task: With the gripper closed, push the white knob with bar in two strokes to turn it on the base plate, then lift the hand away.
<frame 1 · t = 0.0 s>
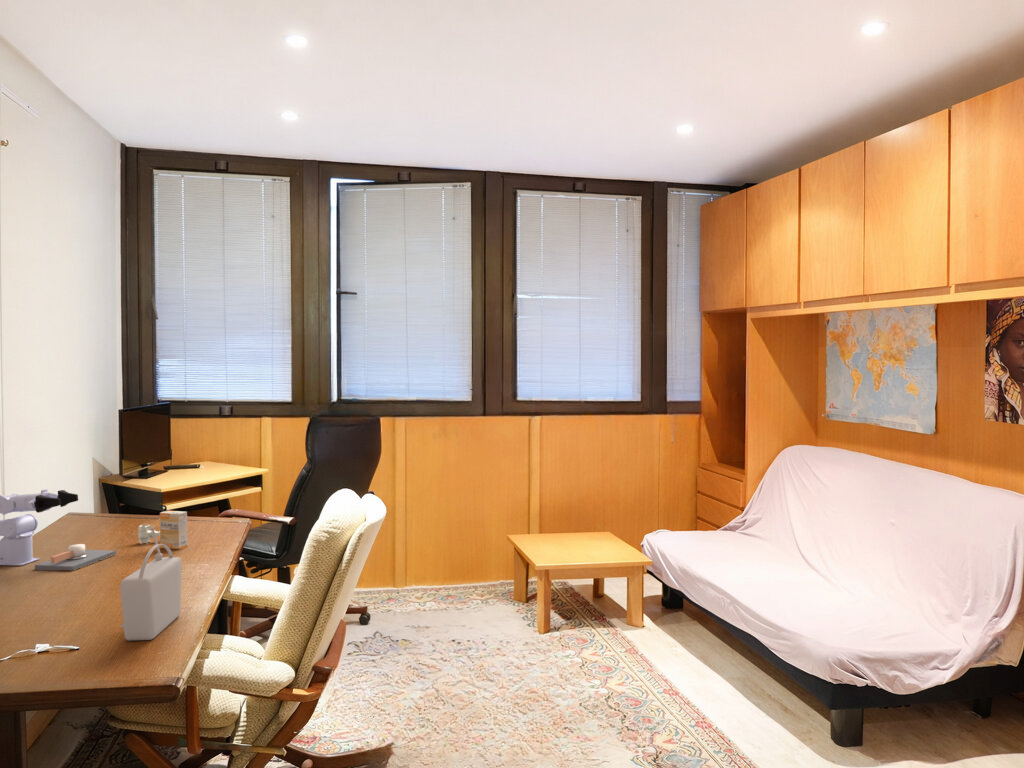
hand: (68, 499, 243), 22 cm above the table, tool horizontal, fingers open, 7 cm apart
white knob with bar: (67, 553, 243), point 4 cm above the table, hinge at 0.0°
grey handbag: (151, 629, 183), on the table
valve: (156, 542, 274), on the table
supplement box: (173, 548, 265), on the table
base plate: (77, 562, 247), on the table
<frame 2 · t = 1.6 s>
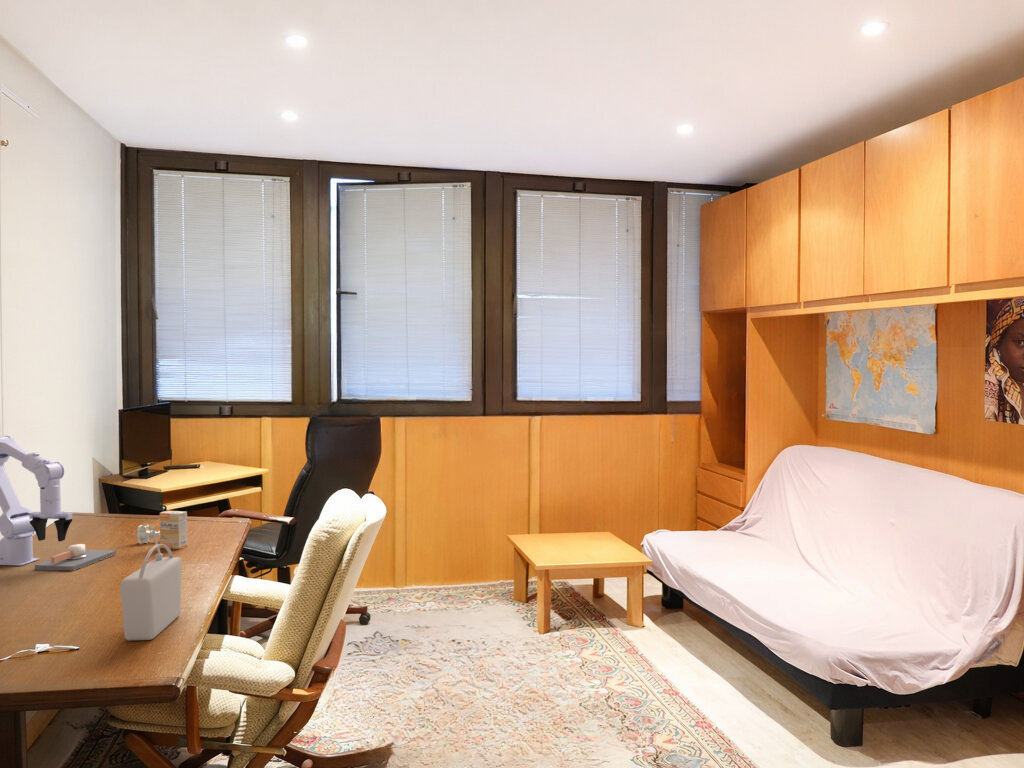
hand: (51, 540, 242), 8 cm above the table, tool pointing down, fingers open, 7 cm apart
nothing on the table moved.
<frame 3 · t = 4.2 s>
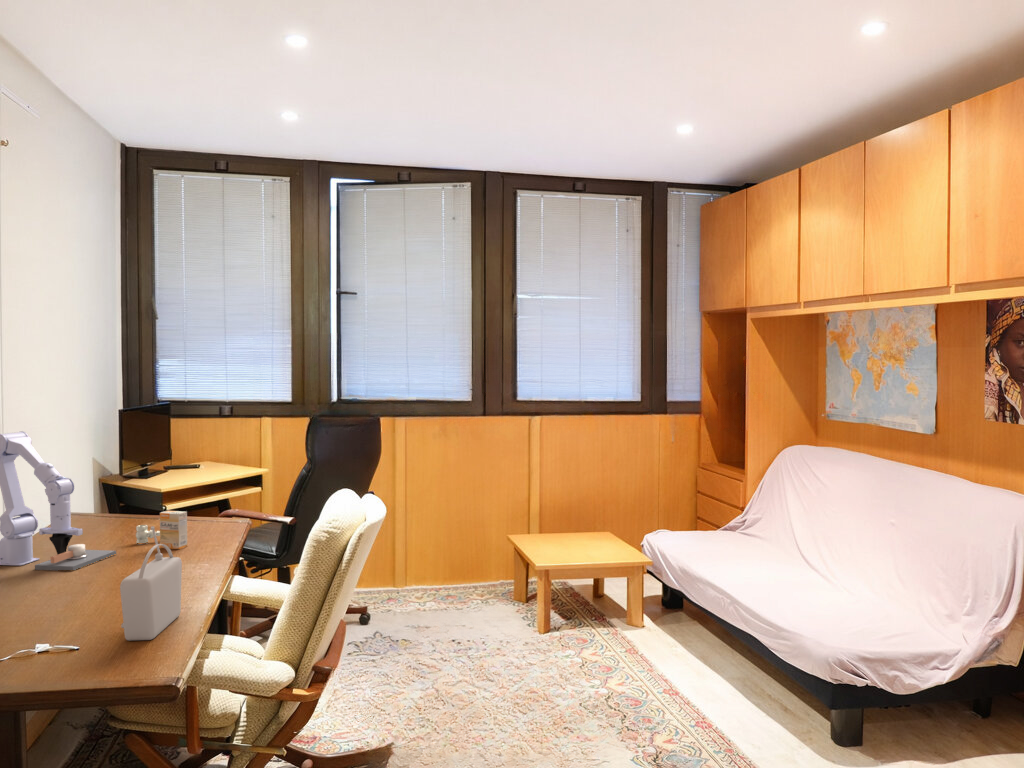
hand: (61, 556, 242), 3 cm above the table, tool pointing down, fingers closed, pressing on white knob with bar
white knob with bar: (67, 553, 243), point 4 cm above the table, hinge at 0.0°, touching gripper
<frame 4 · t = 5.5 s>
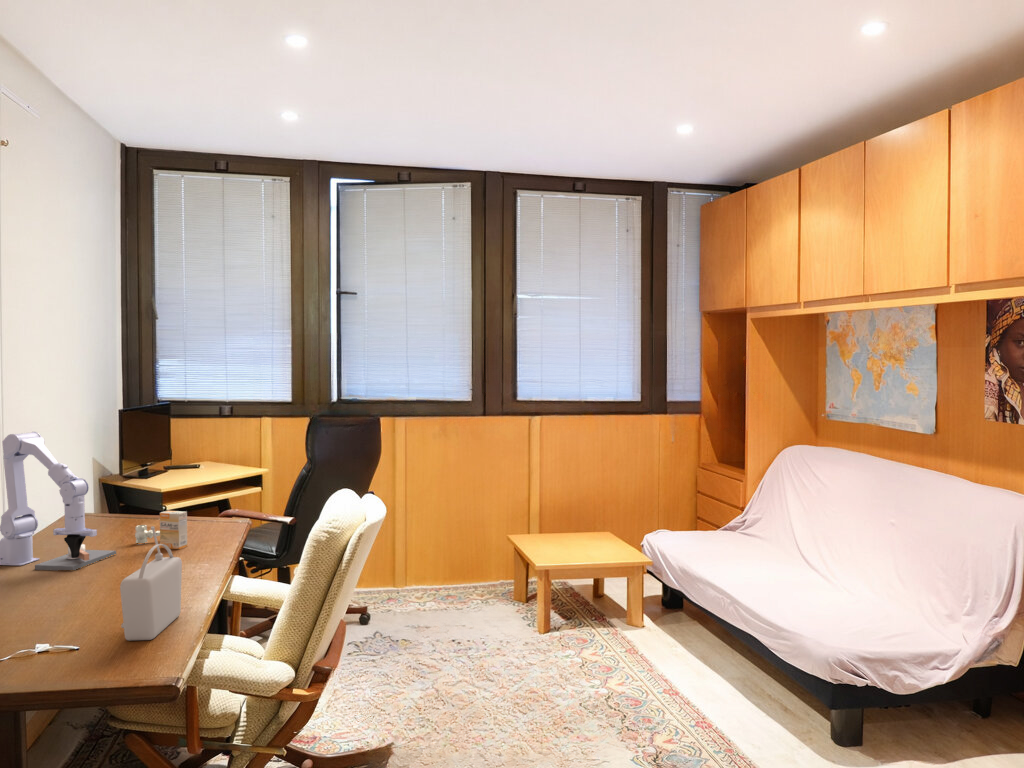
hand: (75, 557, 241), 3 cm above the table, tool pointing down, fingers closed, pressing on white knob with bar
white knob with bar: (80, 552, 244), point 4 cm above the table, hinge at 55.6°, touching gripper
everything else where it was.
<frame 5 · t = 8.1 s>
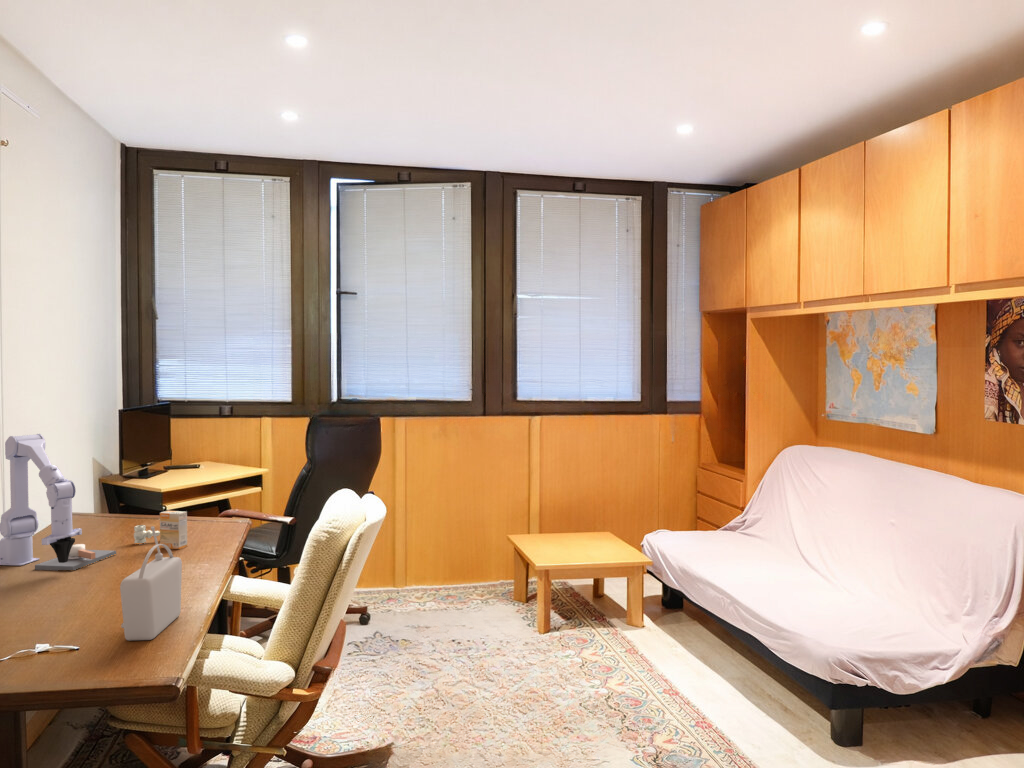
hand: (63, 562, 233), 4 cm above the table, tool pointing down, fingers closed
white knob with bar: (82, 551, 244), point 4 cm above the table, hinge at 66.3°
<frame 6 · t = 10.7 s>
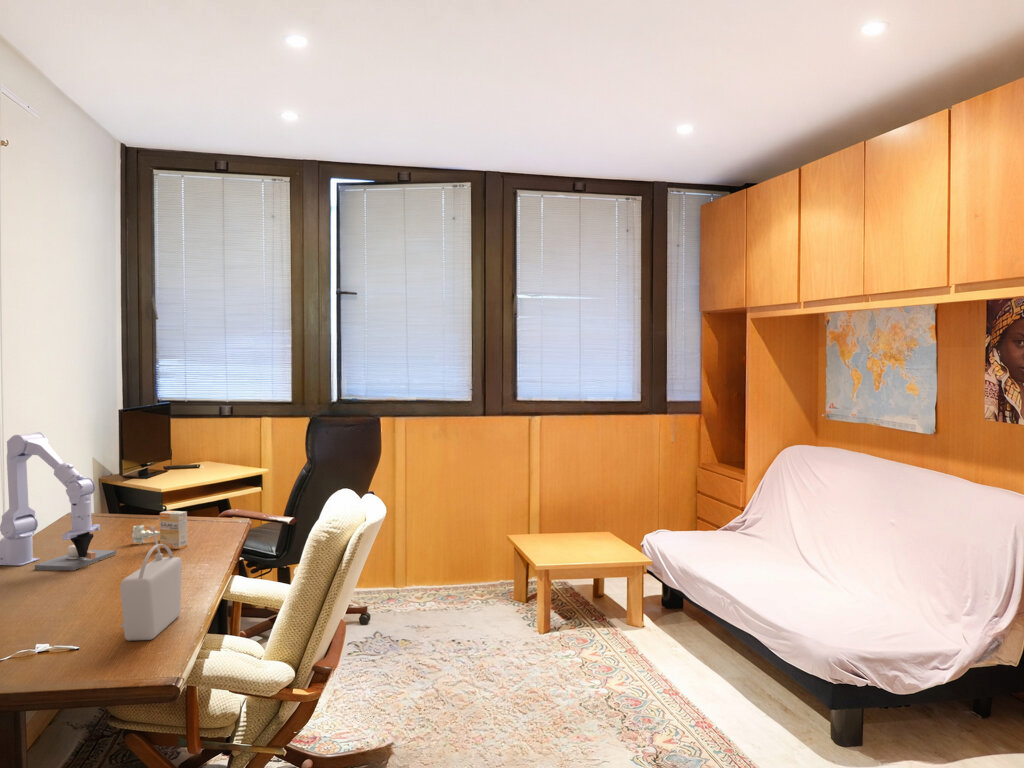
hand: (82, 556, 241), 3 cm above the table, tool pointing down, fingers closed, pressing on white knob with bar
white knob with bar: (82, 551, 244), point 4 cm above the table, hinge at 66.5°, touching gripper
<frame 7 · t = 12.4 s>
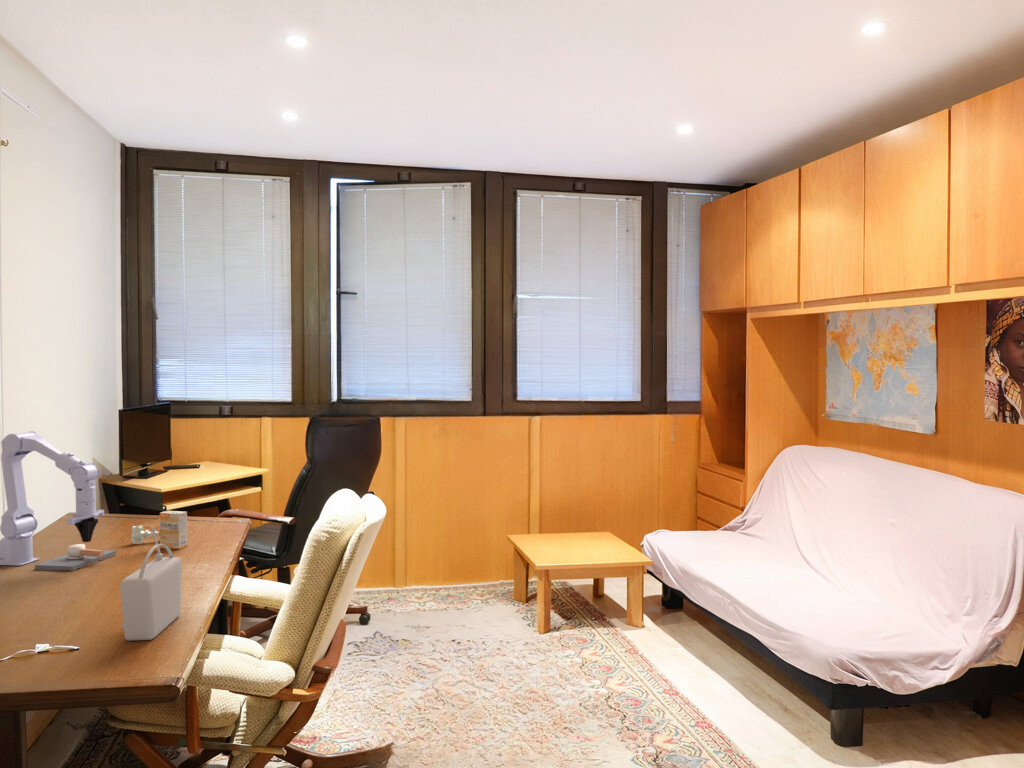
hand: (86, 541, 243), 8 cm above the table, tool pointing down, fingers closed
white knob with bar: (86, 551, 245), point 4 cm above the table, hinge at 82.6°
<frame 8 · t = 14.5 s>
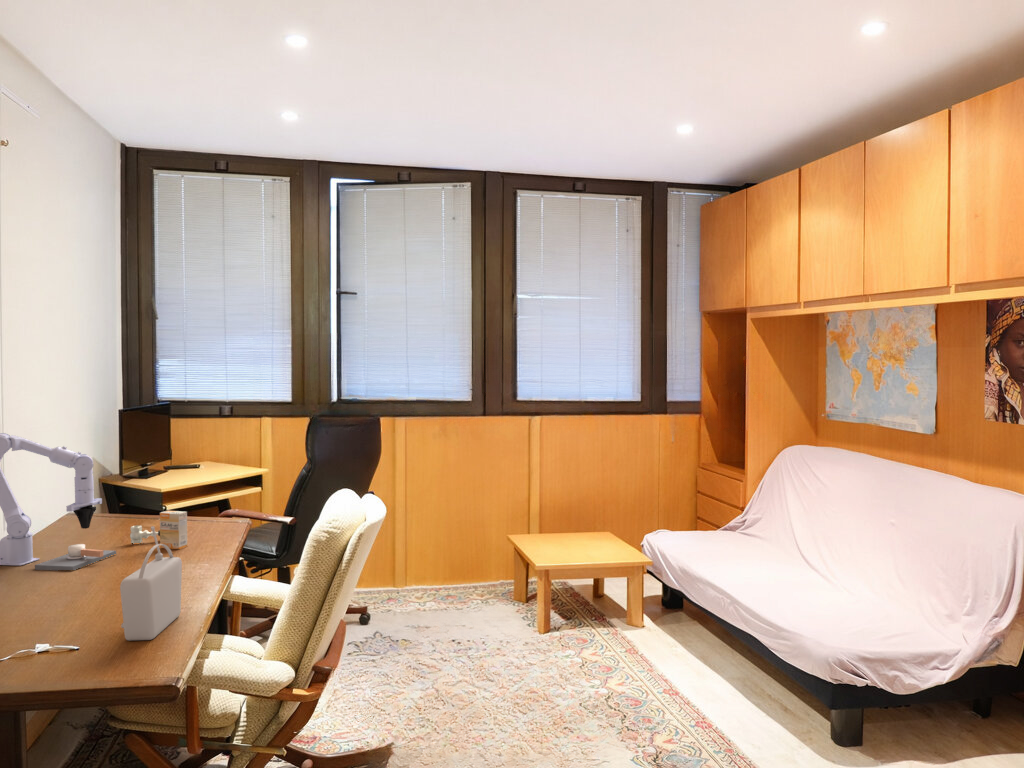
hand: (85, 528, 256), 9 cm above the table, tool pointing down, fingers closed
at the end: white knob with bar at +83° (first picture: +0°); the gripper is holding nothing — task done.
